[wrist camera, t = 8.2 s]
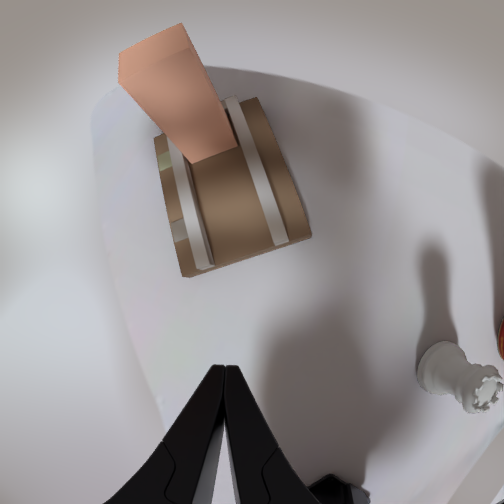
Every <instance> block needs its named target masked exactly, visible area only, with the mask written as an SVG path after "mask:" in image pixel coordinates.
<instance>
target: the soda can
mask: <svg viewBox="0 0 504 504" xmlns="http://www.w3.org/2000/svg"><path fill="white" fill-rule="evenodd" d="M497 344H498V352H499V354H500V357H501V358H502V359H503V360H504V317H503V319H502V322H501V324H500V328H499V332H498V338H497Z"/></svg>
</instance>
